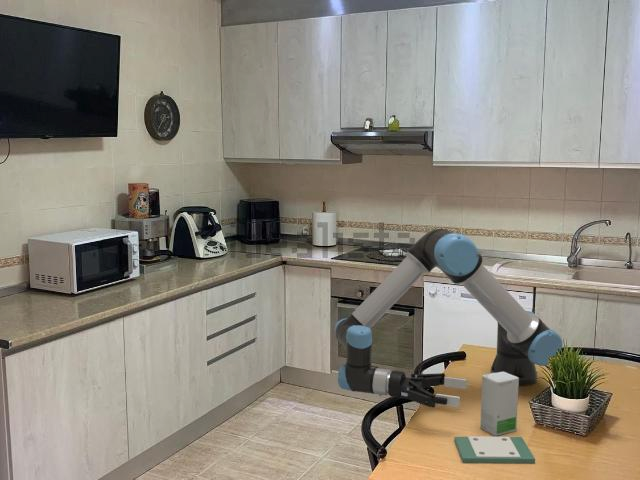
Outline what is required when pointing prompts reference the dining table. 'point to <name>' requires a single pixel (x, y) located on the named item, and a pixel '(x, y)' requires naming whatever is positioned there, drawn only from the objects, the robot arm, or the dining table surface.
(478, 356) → the dining table surface
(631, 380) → the dining table surface
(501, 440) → the board
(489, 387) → the skincare box
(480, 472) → the dining table surface
